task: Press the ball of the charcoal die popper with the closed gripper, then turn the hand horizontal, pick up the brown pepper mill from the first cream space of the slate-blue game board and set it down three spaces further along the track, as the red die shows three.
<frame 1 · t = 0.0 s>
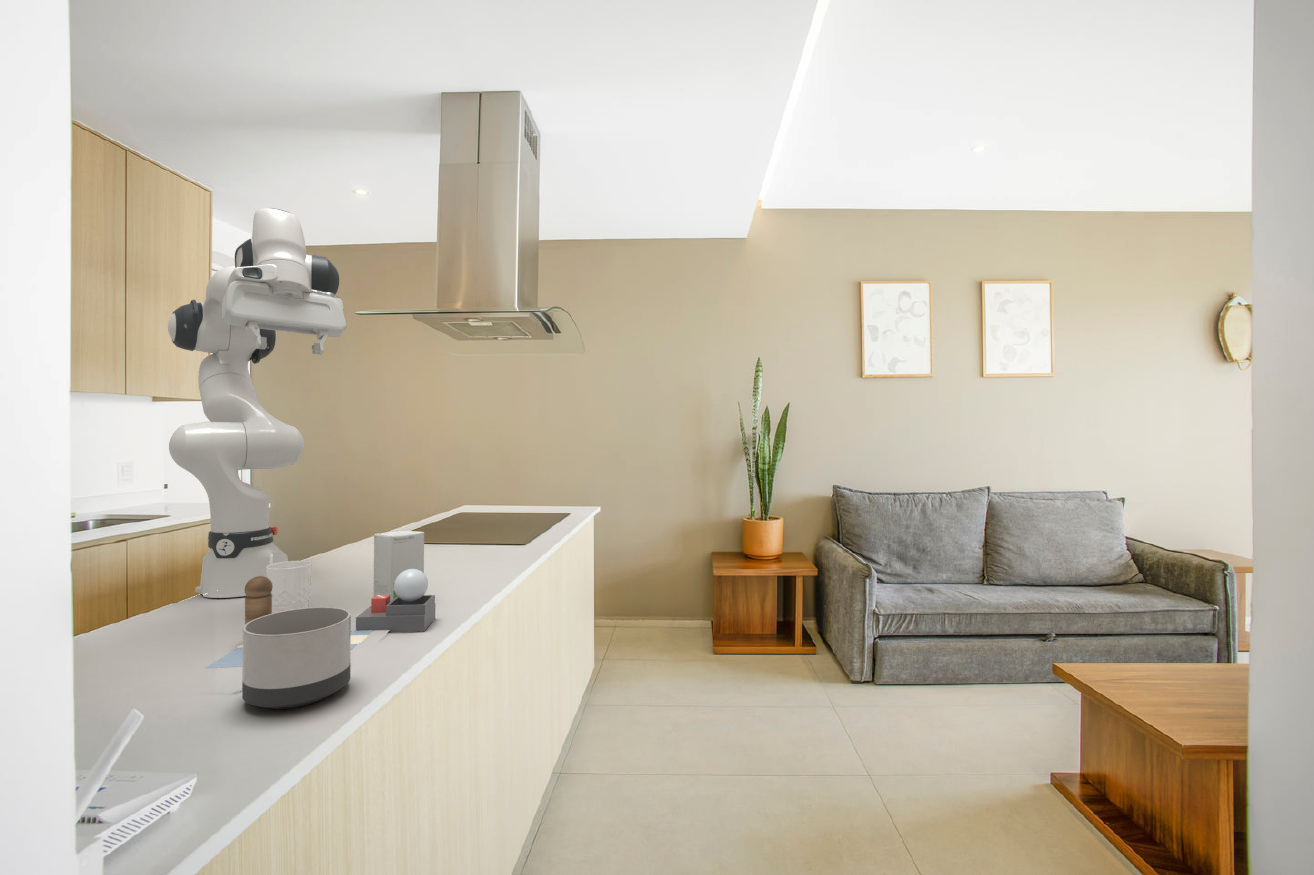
hand: (290, 350, 112), 52 cm above the counter, tool tilted 20°, fingers open, 8 cm apart
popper: (397, 625, 113), on the counter
white cup: (289, 615, 120), on the counter
ball: (411, 585, 113), point 8 cm above the counter, slide at 0.1 cm
planter: (298, 697, 83), on the counter
skincare box: (398, 606, 126), on the counter
board: (296, 650, 100), on the counter
brown pepper mill: (258, 642, 102), point 1 cm above the counter, touching board
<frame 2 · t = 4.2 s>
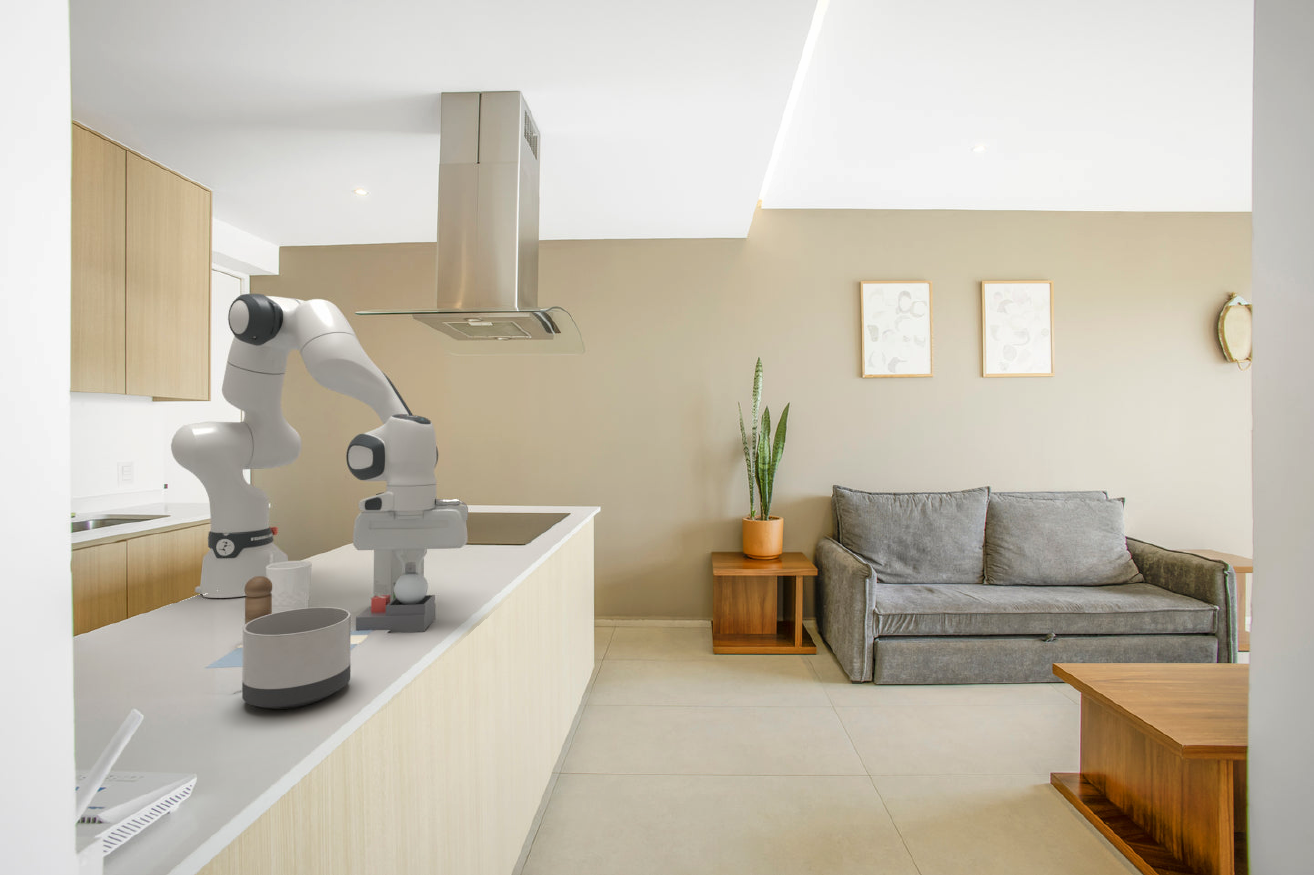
hand: (411, 572, 113), 10 cm above the counter, tool pointing down, fingers closed, pressing on ball
ball: (411, 588, 113), point 7 cm above the counter, slide at 0.7 cm, touching gripper
everything else where it was.
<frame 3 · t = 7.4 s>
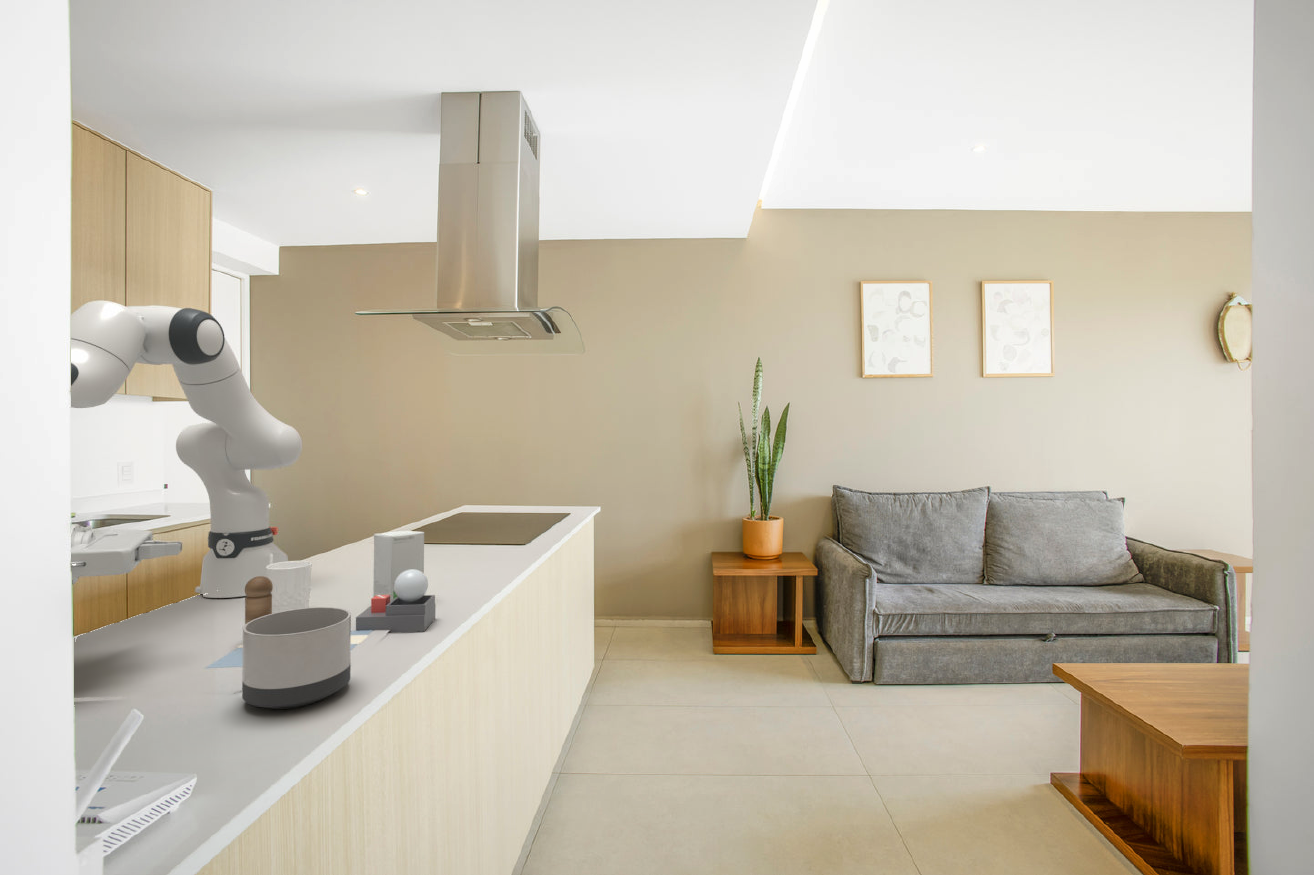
hand: (181, 547, 94), 18 cm above the counter, tool horizontal, fingers closed
ball: (411, 585, 113), point 8 cm above the counter, slide at 0.2 cm
everything else where it was.
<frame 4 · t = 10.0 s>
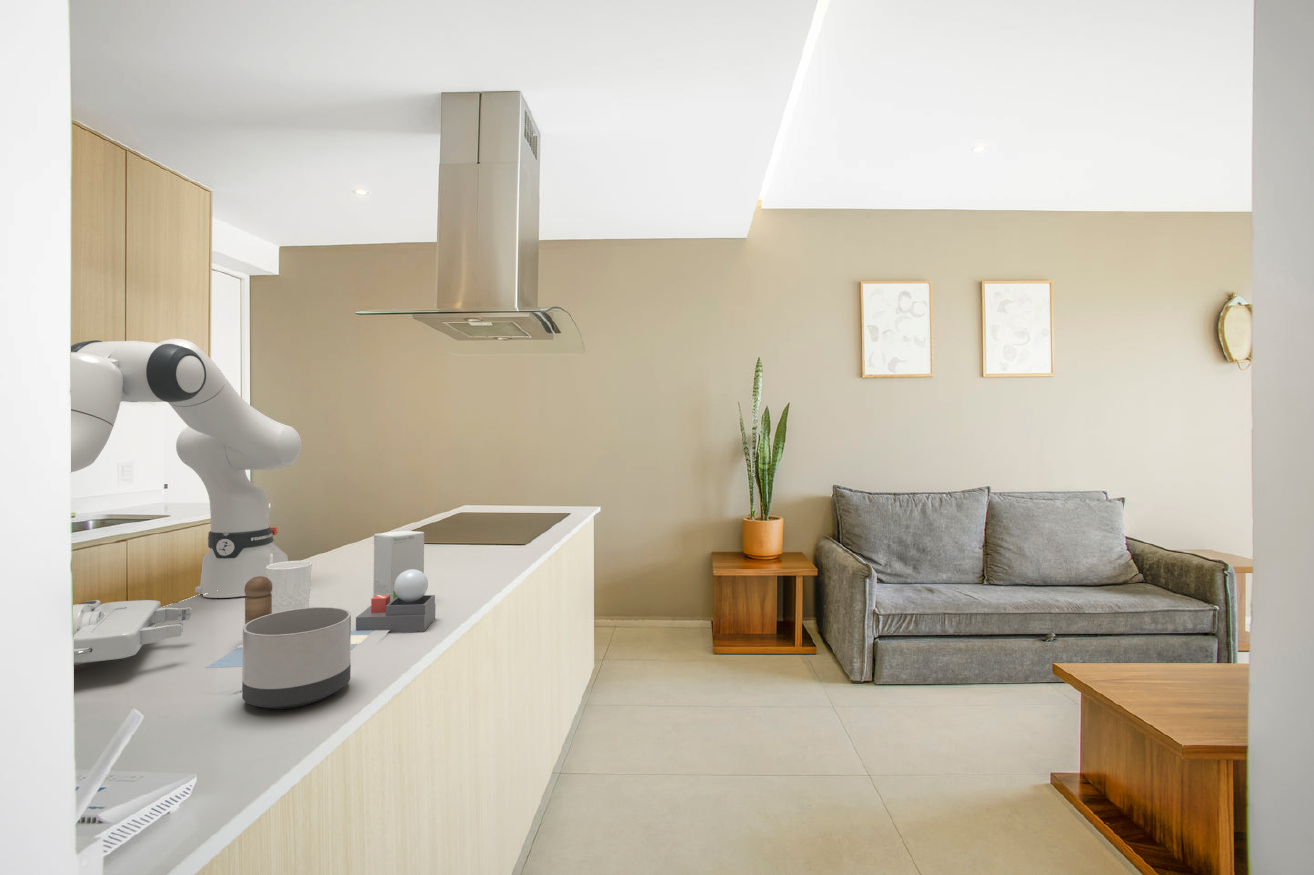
hand: (187, 620, 96), 6 cm above the counter, tool horizontal, fingers open, 8 cm apart
nothing on the counter moved.
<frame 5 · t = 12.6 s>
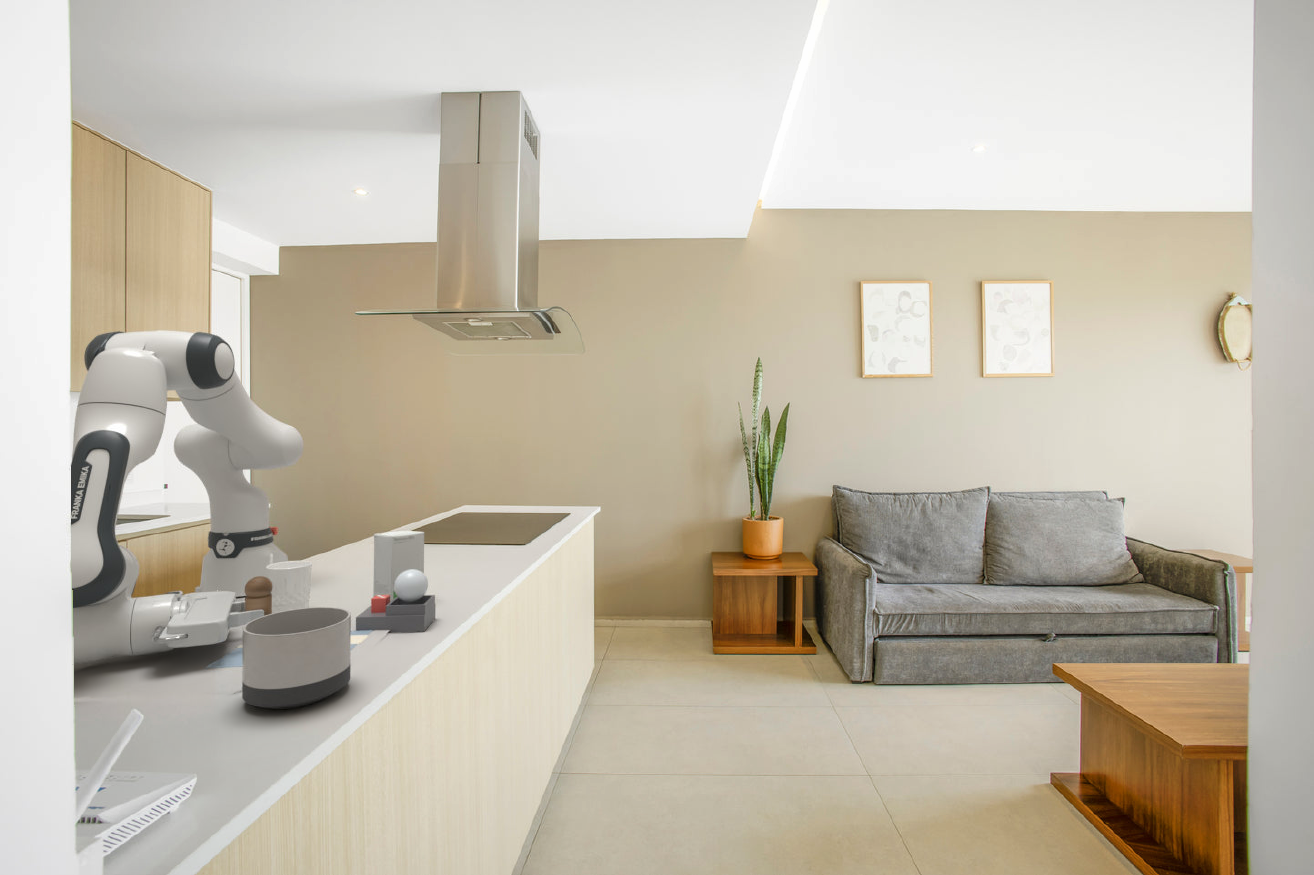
hand: (264, 610, 102), 6 cm above the counter, tool horizontal, fingers closed on brown pepper mill, 4 cm apart
brown pepper mill: (258, 642, 102), point 1 cm above the counter, touching board, gripper
everything else where it was.
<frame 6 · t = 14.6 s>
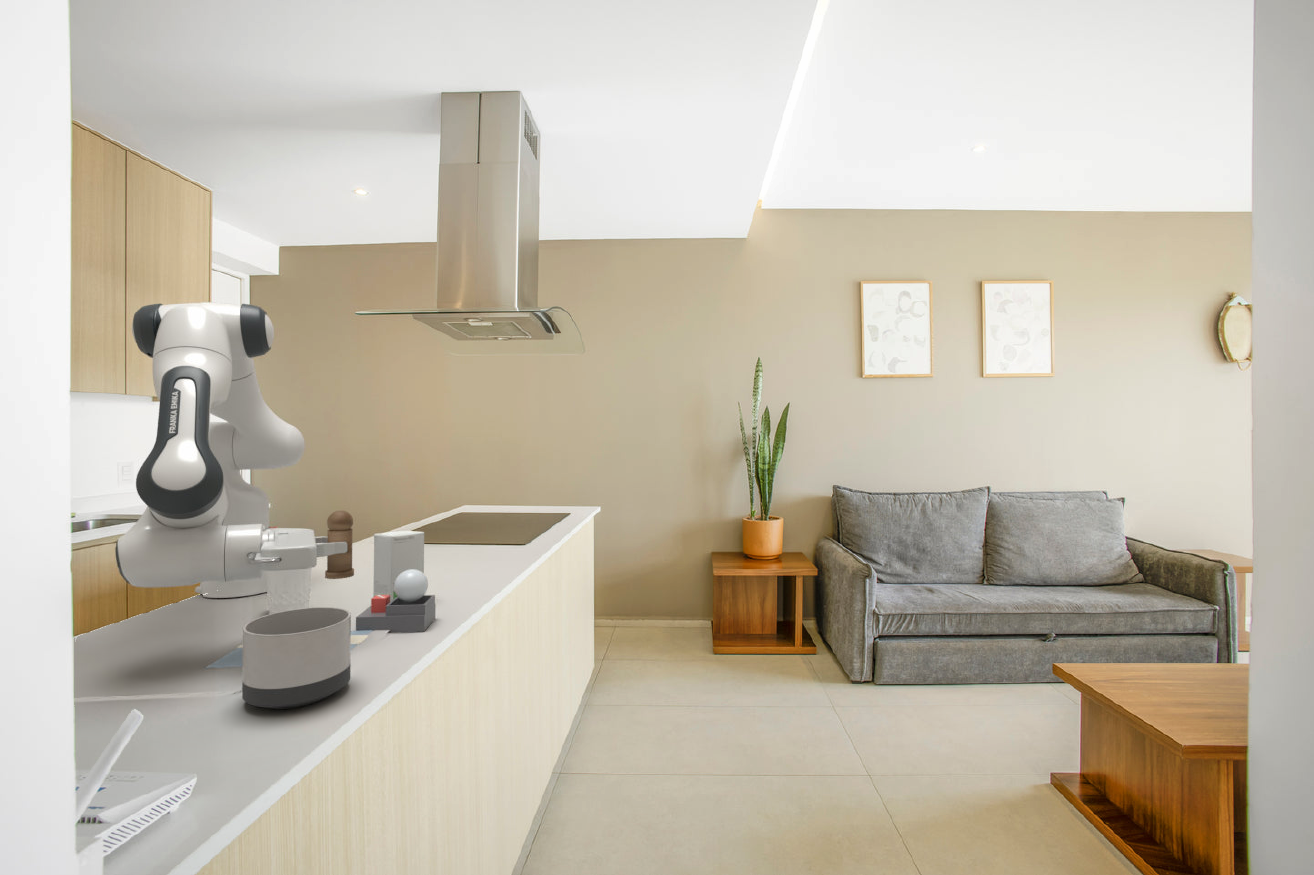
hand: (346, 544, 103), 17 cm above the counter, tool horizontal, fingers closed on brown pepper mill, 4 cm apart
brown pepper mill: (339, 576, 103), point 12 cm above the counter, touching gripper
everything else where it was.
when the fingers open (7 cm above the counter, at t = 17.0 s): brown pepper mill drops 1 cm, resting on board.
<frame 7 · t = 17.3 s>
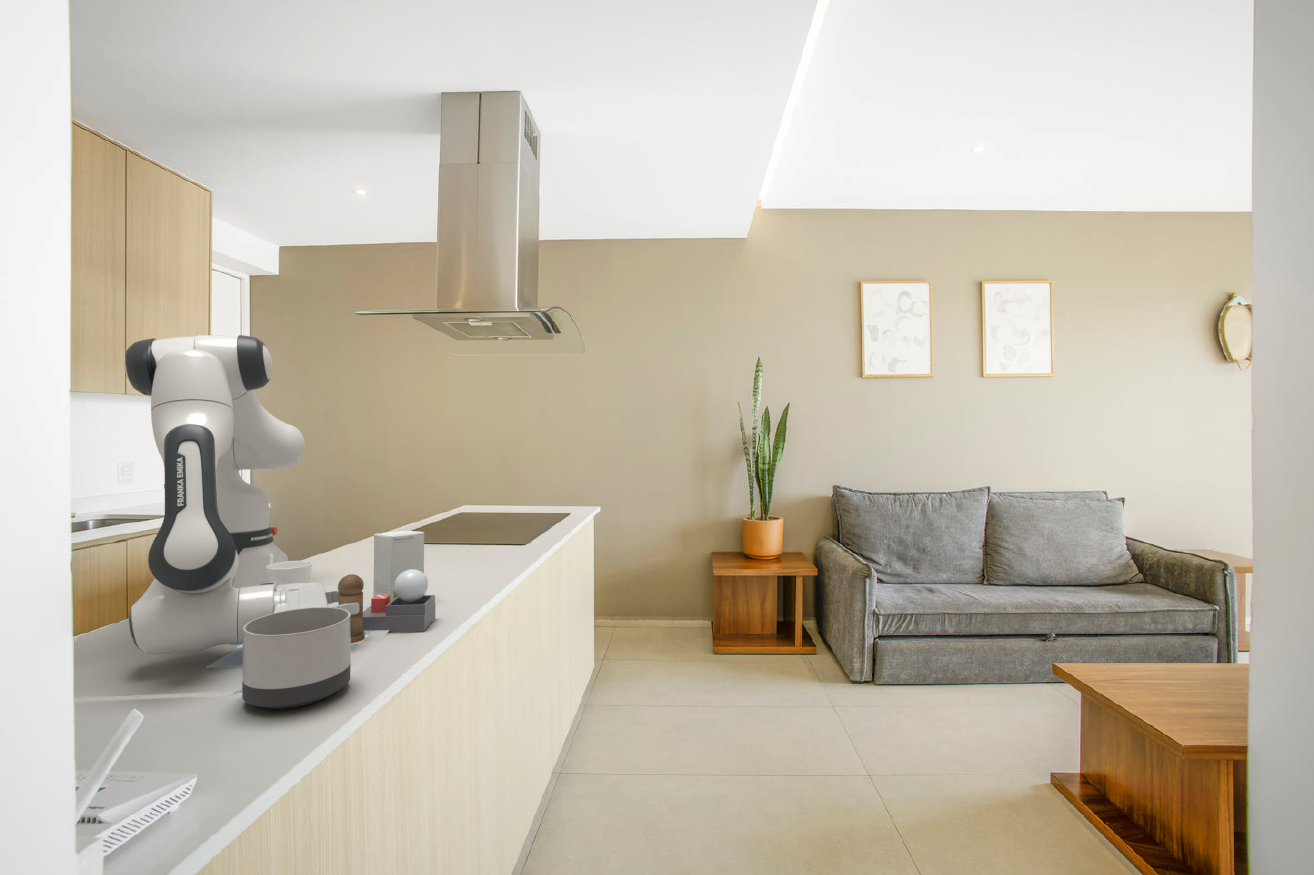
hand: (356, 601, 104), 7 cm above the counter, tool horizontal, fingers open, 7 cm apart
brown pepper mill: (350, 639, 103), point 1 cm above the counter, touching board
everything else where it was.
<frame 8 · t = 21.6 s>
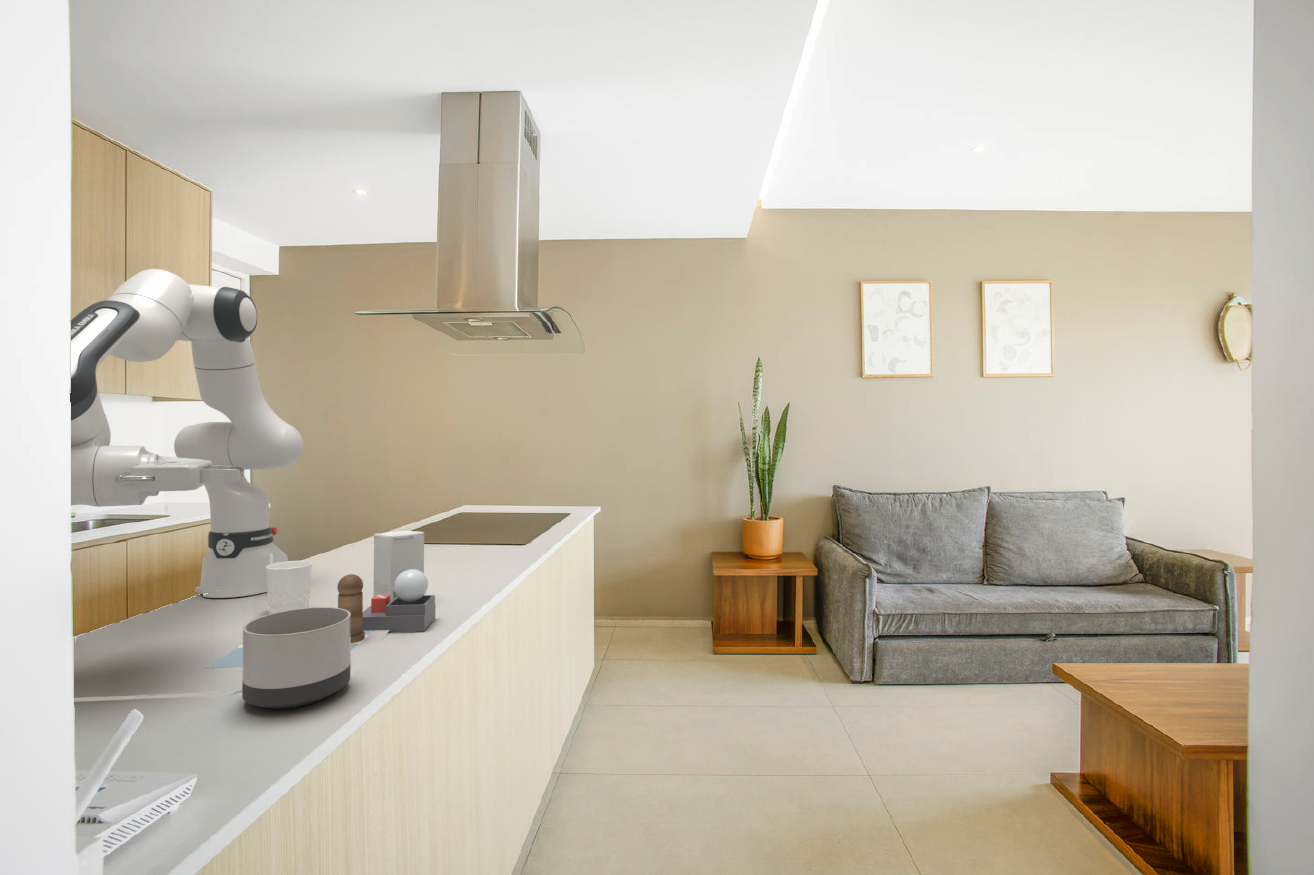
hand: (242, 473, 95), 30 cm above the counter, tool horizontal, fingers open, 8 cm apart
nothing on the counter moved.
at the end: brown pepper mill 0.0 cm from the target spot, point 0.6 cm above the counter; brown pepper mill tilted 0°; the gripper is holding nothing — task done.
